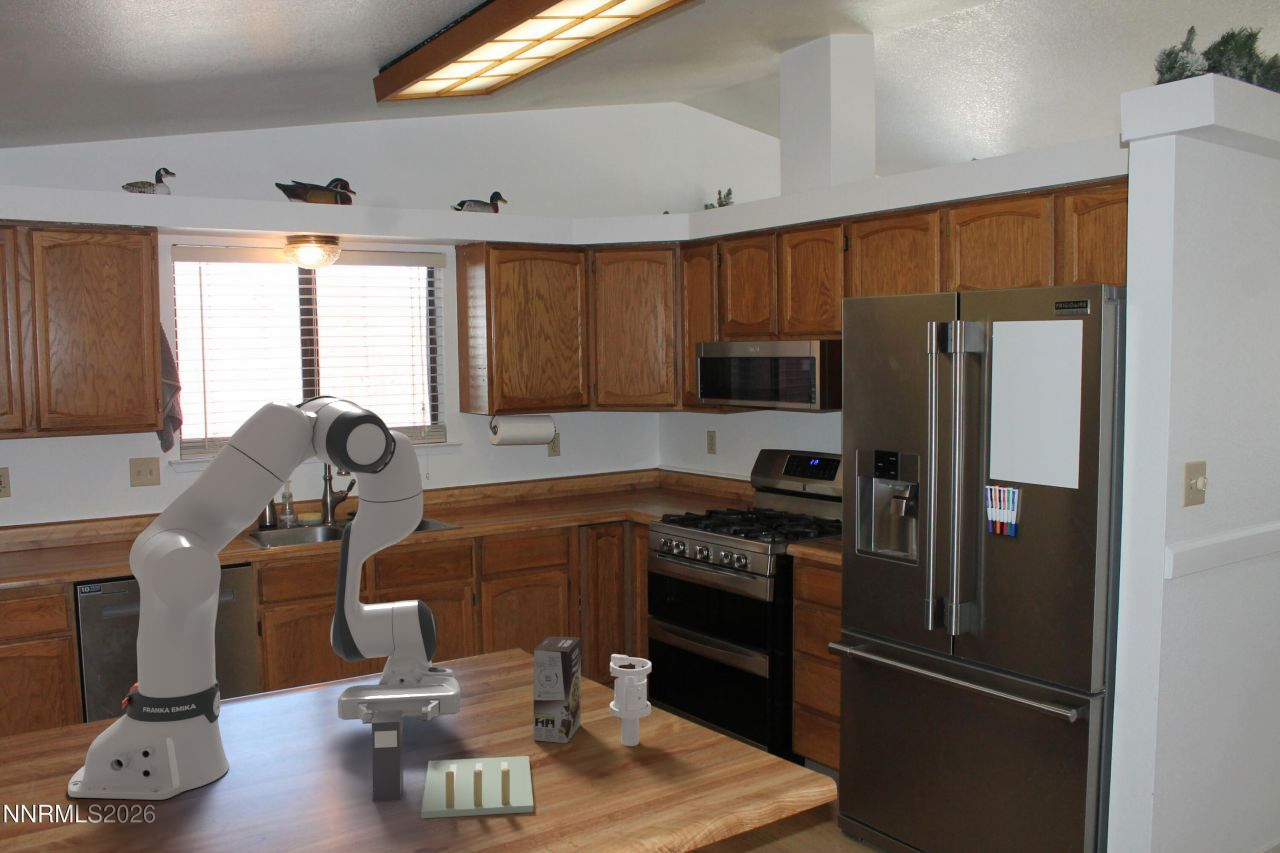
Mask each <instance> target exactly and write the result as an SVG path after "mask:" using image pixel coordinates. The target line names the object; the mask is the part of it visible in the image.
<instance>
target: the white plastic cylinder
mask: <svg viewBox="0 0 1280 853" xmlns="http://www.w3.org/2000/svg"><path fill="white" fill-rule="evenodd" d="M630 664H631V665H634V666H635V667H634V668H633V669H628V668H620V666H625V665H630ZM609 671H610V676H611V677H617V678H615V679H614V694H613V696H614V697H613V698H614V699H613V700H612V701H611V702H610V703H609V714H611V715H612V716H614V717H616V718H619V719H621V722H620V726H621V727H620V728H621V729H620V730H621V732H620V736H621V737H620V738H621V739H620V743H621V745H622V746H625V747H635V746H637V745H639V743H640V719H641V718H646V717H647V716H649V715H650V714H651V713H652V705H651V703H650V702H649V701H648V700H647V696H648V695H647V694H648V693H647V692H648V691H647V690H648V686H647V685H648V678H647V675H649V674H650V673H651V672H652V662H651V661H650V660H648V659H646V658H641V657H629V656H628V655H627V654H618V653H612V654H611V655H610V662H609Z"/></svg>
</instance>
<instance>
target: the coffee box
mask: <svg viewBox="0 0 1280 853" xmlns="http://www.w3.org/2000/svg"><path fill="white" fill-rule="evenodd" d="M581 664H582V637H574V636H573V637H572V636H549V635H548V636H547V637H546V638H544V640H542V642H540V643H539V644H538V645H537V646H536V647H535V648H534V649H533V725H532V726H533V727H532V728H533V735H532V738H533V739H532V740H533V741H538V742H548V743H557V744H568V742H569V741H570V740H571V738H573V735H574V734H575V733H576V732H577V730H578V729H579V728H580V726H581V717H582V716H581V714H582V710H581V706H582V702H581V701H582V700H581V698H582V696H581V694H582V693H581V692H582V688H581V686H582V683H581V681H582V674H581V673H582V671H581V670H582V667H581Z"/></svg>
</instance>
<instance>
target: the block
mask: <svg viewBox="0 0 1280 853" xmlns="http://www.w3.org/2000/svg"><path fill="white" fill-rule="evenodd" d="M403 735H404V732H403V717H402V710H385V711H375V714H374V718H373V721H372V723H371V754H372V755H371V758H372V760H371V762H372V763H371V766H372V770H371V771H372V774H371V775H372V802H388V801H401V798H402V793H403V788H404V751H403V750H404V748H403V747H404V746H403V745H404V742H403V741H404V738H403Z"/></svg>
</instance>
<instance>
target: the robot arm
mask: <svg viewBox="0 0 1280 853" xmlns="http://www.w3.org/2000/svg"><path fill="white" fill-rule="evenodd" d="M314 457H315V458H317V459H318V460H319V461H320V462H322V463H324V464H327V465H329V466H332V467H335V468H338V469H340V470H342V471H345V472H348V473H355V475H356V476H355V477H356V479H357V493H358V509H357V512H356V515H355V517H354V518H353V519H352V520H351V521H350V522H347V523H346V525H345V526H344V528H343V532H342V536H341V540H340V548H339V558H338V559H339V560H338V569H337V580H336V581H337V582H336V592H335V603H334V604H335V605H334V615H333V618H332V621H331V626H330V634H329V635H330V637H329V638H330V643H331V647H332V651H333V652H334V653H335V654H336V655H338V656H339V657H340V658H341V659H343V660H344V661H346V662H348V663H353V662H358V661H364V660H368V659H372V658H373V659H374V658H385V657H388V658H387V660H386V662H385V664H384V667H383V670H382V674H381V677H380V680H379V682H378V684H364V685H363V684H361V685H359V684H358V685H353V686H350V687H347V688H346V689H344V691H343V692H342V693H341V694H340V695H339V697H338V698H337V699H338V700H337V715H338V718H339V719H341V720H343V721H344V720H345V721H350V720H361V722H362V723H361V724H362V725H367V724H372V721H373V718H374V714H375V711H385V710H402V718H403V717H404V718H405V717H406V718H408V717H421V722H422V721H423V722H424V721H425V722H426V721H427V722H428V721H432V718H433V717H436V716H445V715H457V714H458V713H461V688H460V684H459V682H458V680H457V679H456V678H455V677H454V672H453V670H452V669H451V668H450V669H449V668H441V667H433V663H432V659H433V658H435V655H436V653H437V650H438V648H437V647H438V629H437V628H438V627H437V622H436V617H435V613H434V612H433V611H432V609H431V608H430V607H429V606H428V604H426V603H425V602H424V601H422V600H421V599H412V600H399V601H397V600H396V601H392V602H382V603H372V604H365V603H362V602H360V592H361V591H360V590H361V589H360V588H361V577H362V576H361V575H362V567H363V564H364V563H365V561H366V560H367V559H368V558H370V557H371V556H373V555H374V554H376V553H378V552H379V551H382V550H384V549H387V548H389V547H391V546H393V545H395V544H397V543H400V542H401V541H403V540H404V539H406V538H407V537H409V535H411V534H412V533H413V532H415V530H416V529H417V527H418V526H419V525H420V523H421V522H422V519H423V515H424V491H423V481H422V475H421V469H420V464H419V460H418V456H417V452H416V449H415V446H414V443H413V441H412V440H411V438H410V437H409V436H408V435H407V434H405V433H403V432H400V431H398V430H397V431H396V430H390V429H389V428H388V426H387V424H386V423H385V422H384V420H383V419H382V418H381V417H380V416H379V415H377V414H376V413H375V412H373V411H372V410H370V409H367V408H364V407H362V406H360V405H358V404H357V403H355V402H354V401H351V400H347V399H344V398H338V397H336V396H332V395H317V396H314V397H310V398H308V399H306V400H304V401H302V402H300V403H299V404H295V405H293V404H291V403H289V402H286V401H279V400H278V401H276V400H275V401H272V402H271V401H270V402H268V403H266V404H264V405H263V406H262V407H260V408H259V410H257V411H256V412H255V413H254V414H252V415H251V416H249V418H248V419H247V420H245V422H244V423H242V424H241V426H240V427H239V428H238V429H237V430H236V431H235V432H234V433H233V434H232V435H231V436H230V437H229V438H228V440H227V441H226V442H225V443H224V444H223V446H222V447H221V448H220V449H219V451H218V452H217V453H216V454H215V455H214V457H213V458H212V459H211V460H210V461H209V463H208V464H207V465H206V466H205V467H204V469H203V470H202V471H201V473H200V474H199V475H198V476H197V477H196V478H195V479H194V481H193V482H192V483H191V484H190V485H189V486H188V487H187V488H186V489H185V490H184V491H183V492H182V493H181V494H180V495H179V496H177V498H176V499H174V500H173V501H172V502H171V503H169V505H168V506H166V508H165V509H164V510H163V511H162V512H161V513H160V514H159V515H158V516H157V517H156V518H155V519H154V520H152V522H151V523H150V524H149V525H148V526H147V528H145V529H144V530H143V531H142V532H141V533H140V534H138V536H137V537H136V539H135V540H134V541H133V544H132V546H131V548H130V552H129V559H128V560H129V566H130V570H131V573H132V574H133V576H134V577H135V579H136V580H137V582H138V583H137V584H138V586H139V592H140V593H139V596H140V597H139V600H140V602H139V621H138V633H137V639H136V658H137V663H136V664H137V682H136V683H134V685H132V686H131V687H130V689H129V692H128V693H126V695H125V697H124V698H125V699H124V700H122V702H121V704H122V707H121V708H122V709H123V710H125V714H123V715H122V716H121V717H120V718H118V719H117V720H115V722H113V723H112V724H111V725H109V726H108V727H107V728H105V730H103V731H102V732H101V733H100V734H99V735H98V736H96V738H94V740H93V741H92V742H91V744H90V746H89V748H88V750H87V753H86V757H85V761H84V762H85V763H84V765H83V766H82V767H81V768H79V769H78V770H77V771H76V772H75V773H74V774H73V776H72V777H71V778H70V780H69V782H68V785H67V794H68V796H69V797H70V798H85V799H86V798H87V799H117V800H118V799H119V800H121V799H123V800H124V799H125V800H152V801H153V800H154V801H155V800H156V801H158V800H159V801H162V800H163V801H164V800H166V799H169V798H172V797H174V796H177V795H179V794H181V793H183V792H186V791H189V790H192V789H196V788H199V787H202V786H205V785H209V784H210V783H212V782H214V781H217V780H218V779H220V778H221V777H222V776H224V775H225V774H226V772H228V770H229V767H230V764H229V762H228V761H229V760H228V759H227V756H226V753H225V750H224V746H223V741H222V736H221V731H220V723H219V717H220V713H221V696H220V695H221V693H220V688H219V681H218V679H216V644H215V641H216V640H215V638H216V637H215V636H216V634H215V633H216V622H217V615H218V607H219V596H220V584H221V578H222V572H221V570H222V568H221V562H220V558H219V556H218V554H219V553H220V552H221V551H222V550H223V549H224V548H225V547H226V546H227V545H229V543H231V542H232V540H234V539H235V538H236V537H237V536H238V535H239V534H241V533H242V532H243V531H245V529H247V528H249V527H250V526H251V525H253V524H254V523H255V522H256V520H257V519H258V518H259V516H260V515H261V514H262V512H264V510H265V509H266V508H267V506H268V505H269V504H270V503H271V501H273V499H274V498H275V496H276V495H277V494H278V492H279V491H280V490H281V489H282V488H283V486H284V484H286V483H287V481H288V480H289V478H290V477H291V476H292V475H293V473H294V471H295V470H296V469H297V468H298V467H299V466H300V465H301V464H303V463H304V462H305V461H307V460H308V459H311V458H314Z"/></svg>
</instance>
